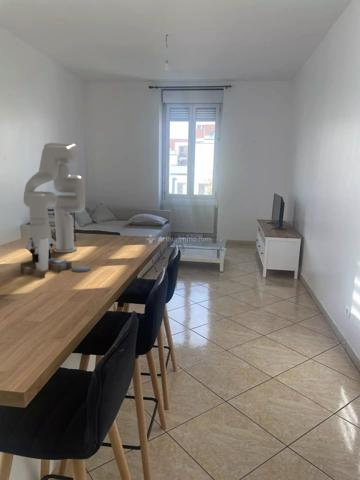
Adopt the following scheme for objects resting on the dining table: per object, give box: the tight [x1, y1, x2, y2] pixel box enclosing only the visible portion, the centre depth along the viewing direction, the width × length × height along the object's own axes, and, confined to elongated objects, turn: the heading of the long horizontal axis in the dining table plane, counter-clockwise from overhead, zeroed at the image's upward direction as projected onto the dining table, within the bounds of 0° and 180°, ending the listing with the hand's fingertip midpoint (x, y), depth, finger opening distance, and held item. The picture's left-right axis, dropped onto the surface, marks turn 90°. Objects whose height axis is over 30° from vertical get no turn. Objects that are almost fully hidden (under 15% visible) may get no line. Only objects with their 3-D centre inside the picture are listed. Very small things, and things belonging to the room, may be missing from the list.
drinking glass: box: [33, 238, 49, 272], centre depth 161 cm, size 7×7×15 cm
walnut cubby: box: [20, 253, 73, 279], centre depth 164 cm, size 13×18×5 cm
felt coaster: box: [70, 265, 92, 273], centre depth 168 cm, size 9×9×1 cm
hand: (41, 259), depth 161 cm, fingers closed on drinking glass, 6 cm apart
